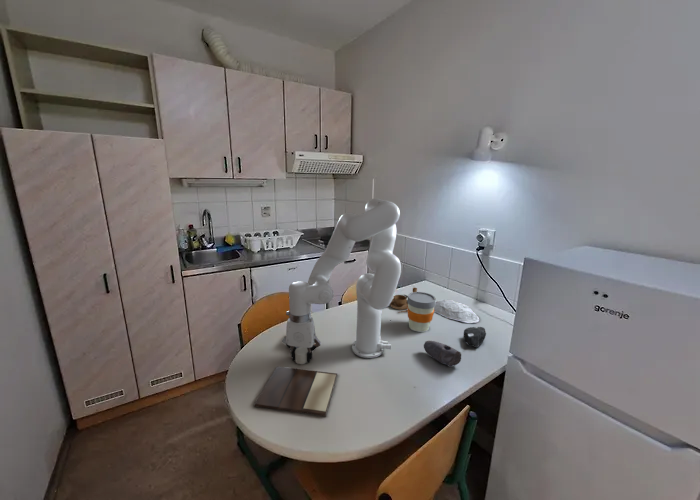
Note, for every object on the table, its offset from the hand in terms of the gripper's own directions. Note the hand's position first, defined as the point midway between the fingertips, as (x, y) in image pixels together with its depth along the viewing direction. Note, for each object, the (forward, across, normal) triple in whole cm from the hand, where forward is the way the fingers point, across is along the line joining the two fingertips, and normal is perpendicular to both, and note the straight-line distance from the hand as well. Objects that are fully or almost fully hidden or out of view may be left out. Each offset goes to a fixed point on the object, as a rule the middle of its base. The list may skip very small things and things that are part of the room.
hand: (301, 359), depth 112 cm
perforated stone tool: (+1, +52, +10) cm, 53 cm away
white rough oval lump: (+2, +65, +52) cm, 83 cm away
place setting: (+2, +41, +57) cm, 70 cm away
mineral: (+2, +68, +26) cm, 72 cm away
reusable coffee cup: (+1, +46, +34) cm, 57 cm away
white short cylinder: (0, 0, 0) cm, 0 cm away
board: (+1, +4, -15) cm, 16 cm away
